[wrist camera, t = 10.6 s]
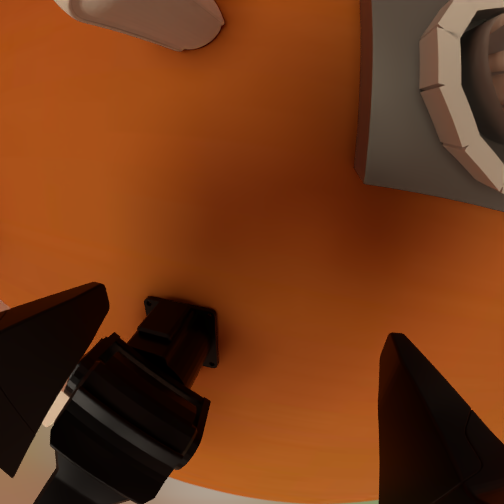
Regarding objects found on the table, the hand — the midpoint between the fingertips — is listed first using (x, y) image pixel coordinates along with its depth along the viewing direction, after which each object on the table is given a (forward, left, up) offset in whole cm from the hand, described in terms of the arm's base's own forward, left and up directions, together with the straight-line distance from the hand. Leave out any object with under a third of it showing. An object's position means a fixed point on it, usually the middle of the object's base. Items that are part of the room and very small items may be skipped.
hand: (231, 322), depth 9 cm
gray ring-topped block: (+9, -11, -12) cm, 19 cm away
